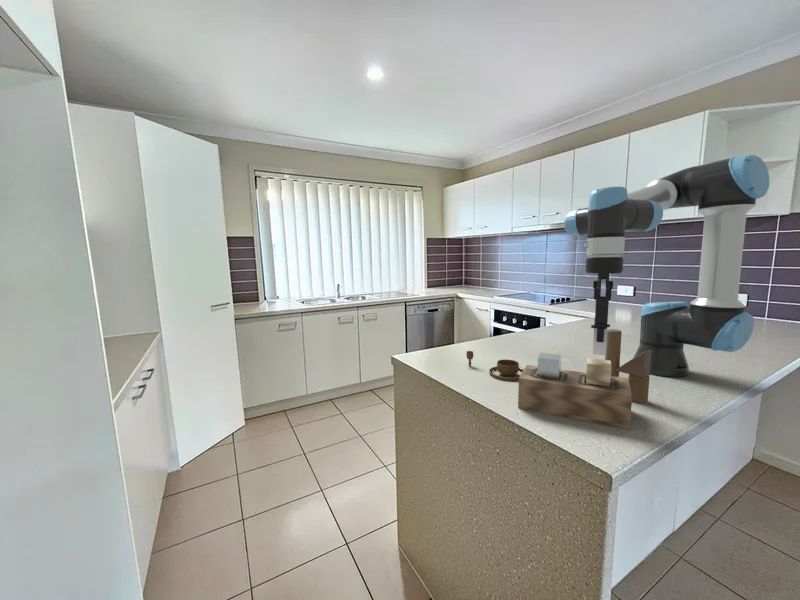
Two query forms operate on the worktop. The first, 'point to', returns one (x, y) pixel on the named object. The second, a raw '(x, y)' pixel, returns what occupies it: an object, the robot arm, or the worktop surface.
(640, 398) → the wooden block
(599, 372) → the maple peg
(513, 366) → the place setting
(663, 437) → the worktop surface
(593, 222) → the robot arm
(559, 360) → the grey metal peg
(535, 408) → the walnut block
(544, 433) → the worktop surface
